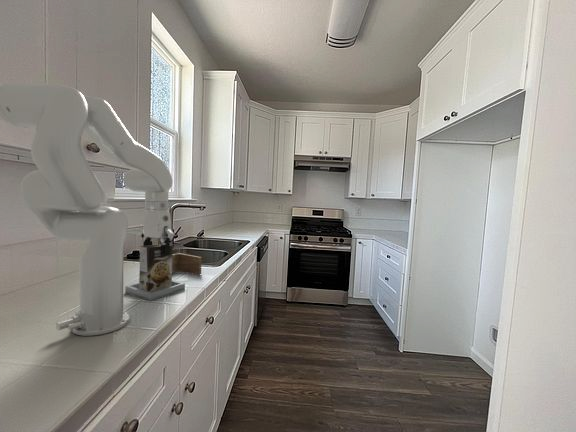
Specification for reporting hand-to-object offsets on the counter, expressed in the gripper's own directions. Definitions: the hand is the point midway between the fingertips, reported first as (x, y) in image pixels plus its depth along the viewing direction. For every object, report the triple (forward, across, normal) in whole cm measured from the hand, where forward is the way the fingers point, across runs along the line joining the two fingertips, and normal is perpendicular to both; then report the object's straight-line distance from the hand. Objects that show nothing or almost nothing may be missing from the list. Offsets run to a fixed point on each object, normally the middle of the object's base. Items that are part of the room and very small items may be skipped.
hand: (156, 253), depth 98 cm
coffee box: (+13, 0, 0) cm, 13 cm away
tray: (+14, 0, 0) cm, 14 cm away
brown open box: (+14, +10, -16) cm, 23 cm away
